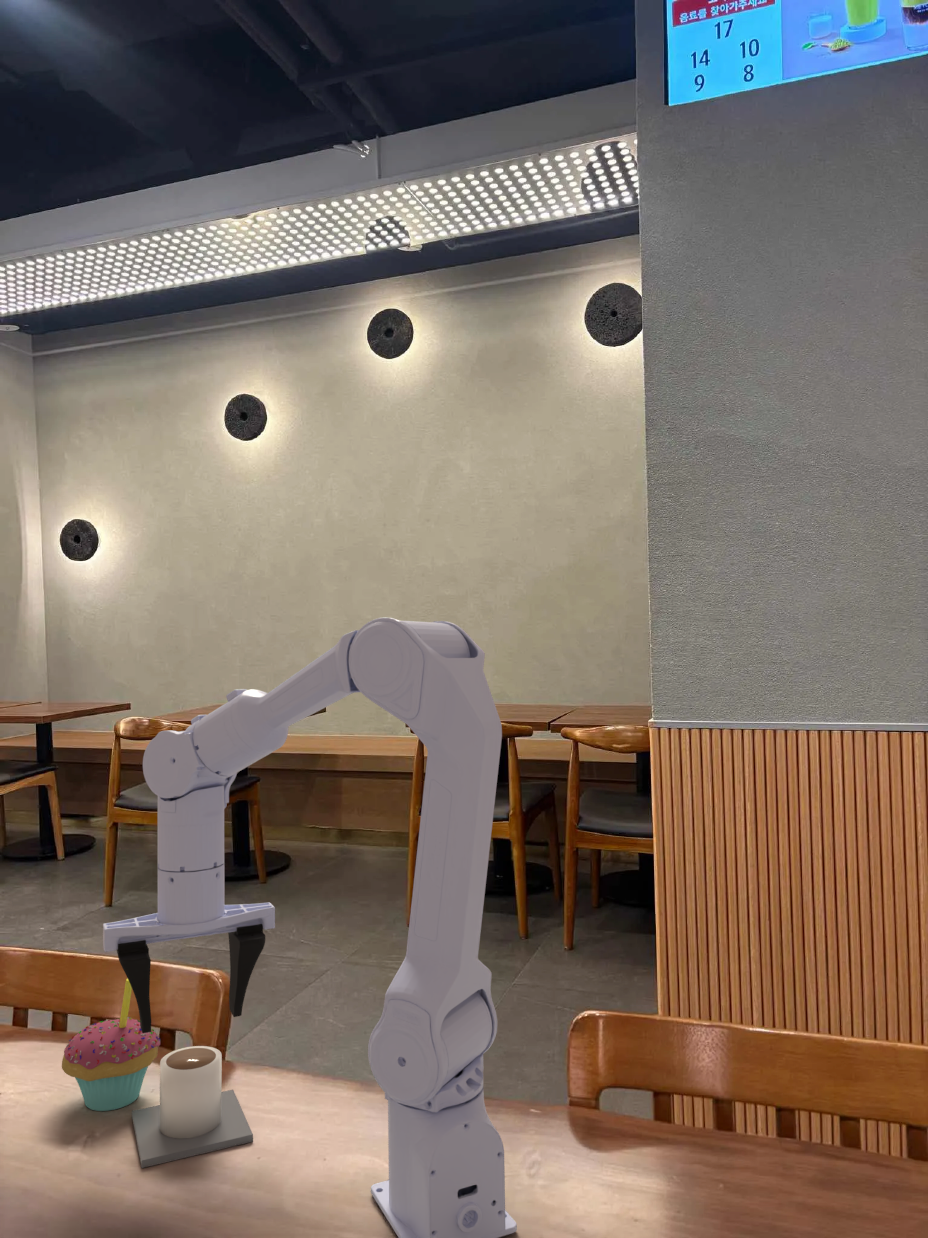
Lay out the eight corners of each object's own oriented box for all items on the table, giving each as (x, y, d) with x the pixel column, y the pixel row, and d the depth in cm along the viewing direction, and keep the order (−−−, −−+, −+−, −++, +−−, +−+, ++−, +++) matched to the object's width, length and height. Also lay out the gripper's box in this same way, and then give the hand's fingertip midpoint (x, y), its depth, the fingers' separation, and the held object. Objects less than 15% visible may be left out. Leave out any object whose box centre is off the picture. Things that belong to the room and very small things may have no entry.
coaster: (252, 1141, 77) (252, 1134, 77) (141, 1168, 73) (141, 1160, 73) (233, 1096, 85) (233, 1089, 85) (132, 1117, 81) (132, 1111, 81)
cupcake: (173, 1080, 88) (173, 956, 89) (133, 1125, 80) (133, 987, 80) (90, 1077, 89) (91, 955, 90) (42, 1121, 81) (43, 985, 81)
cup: (227, 1128, 78) (228, 1063, 78) (165, 1144, 75) (166, 1077, 76) (213, 1102, 82) (213, 1041, 83) (154, 1117, 80) (154, 1053, 80)
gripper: (262, 848, 87) (263, 991, 86) (101, 865, 80) (100, 1019, 80) (280, 863, 80) (281, 1017, 80) (106, 882, 74) (105, 1050, 73)
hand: (191, 1020), depth 79 cm, fingers open, 7 cm apart
